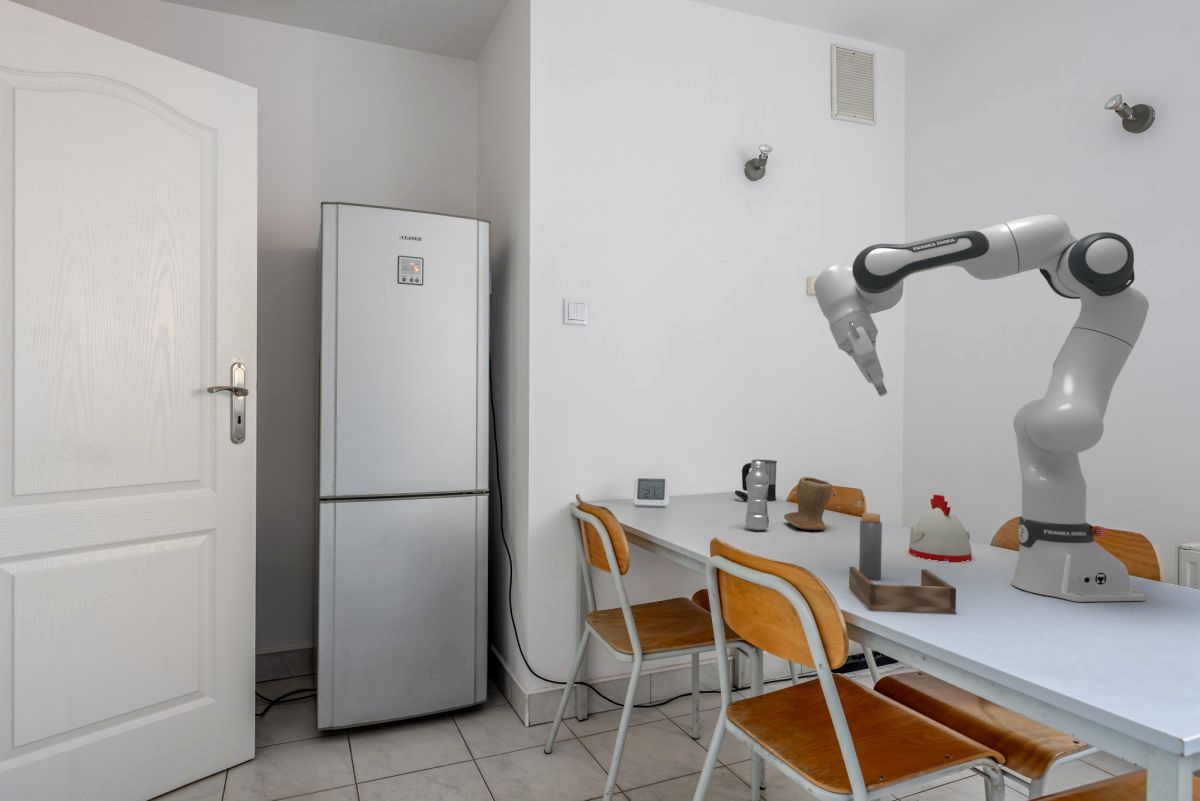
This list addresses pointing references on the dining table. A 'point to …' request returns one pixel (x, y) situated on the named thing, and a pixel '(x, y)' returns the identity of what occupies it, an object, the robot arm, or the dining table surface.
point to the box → (905, 594)
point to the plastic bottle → (757, 497)
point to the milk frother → (771, 473)
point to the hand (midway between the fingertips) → (881, 389)
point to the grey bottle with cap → (870, 546)
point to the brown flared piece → (810, 504)
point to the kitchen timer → (940, 535)
